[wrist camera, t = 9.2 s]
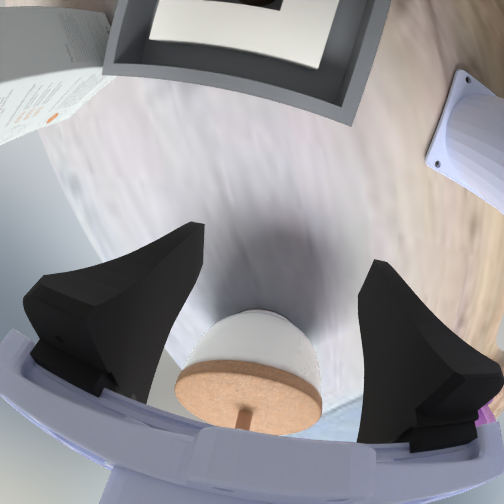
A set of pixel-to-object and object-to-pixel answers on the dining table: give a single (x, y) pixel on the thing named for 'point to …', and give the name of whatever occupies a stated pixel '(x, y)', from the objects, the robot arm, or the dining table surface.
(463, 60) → the dining table surface
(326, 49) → the square hole block
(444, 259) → the dining table surface
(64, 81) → the small box
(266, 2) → the peg
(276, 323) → the lidded bowl
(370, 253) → the dining table surface
